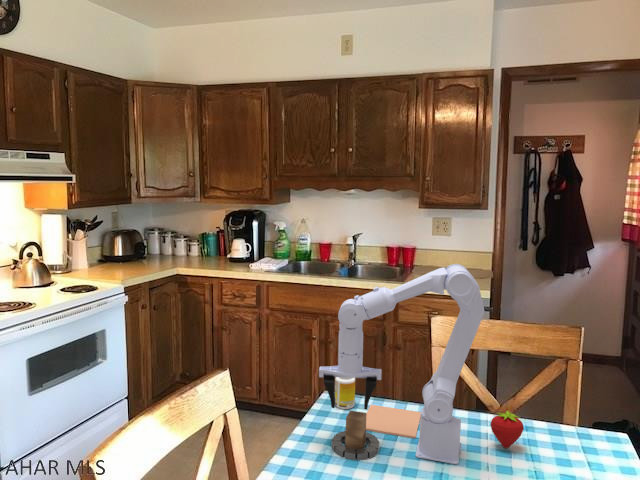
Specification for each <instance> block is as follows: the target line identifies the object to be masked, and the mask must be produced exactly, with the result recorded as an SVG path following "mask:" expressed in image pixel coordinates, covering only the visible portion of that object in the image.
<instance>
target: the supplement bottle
mask: <svg viewBox="0 0 640 480" xmlns="http://www.w3.org/2000/svg"><path fill="white" fill-rule="evenodd" d="M355 395H356V378H349V377H335V407H336V408H337V409H340V410H341V409H342V410H349V409H350V410H351V409H353V408H354V407H355V404H356V399H355V398H356V396H355Z"/></svg>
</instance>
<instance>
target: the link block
mask: <svg viewBox="0 0 640 480" xmlns="http://www.w3.org/2000/svg"><path fill="white" fill-rule="evenodd" d="M366 414H367V412H363V411H356V410H351V409H350V410H349V411H348V414H346V417H345V431H346V435H345V442H344V446H345V447H347V448H351V449H364V448H366V444H367V443H366V432H367V430H366Z"/></svg>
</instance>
